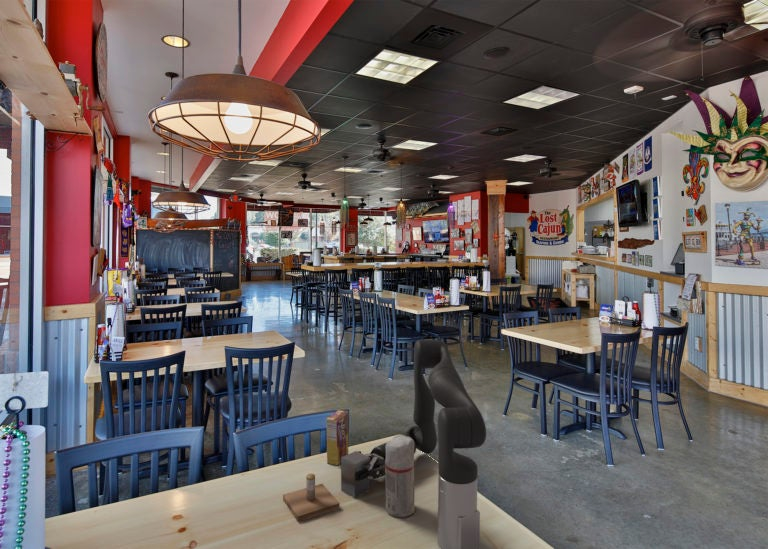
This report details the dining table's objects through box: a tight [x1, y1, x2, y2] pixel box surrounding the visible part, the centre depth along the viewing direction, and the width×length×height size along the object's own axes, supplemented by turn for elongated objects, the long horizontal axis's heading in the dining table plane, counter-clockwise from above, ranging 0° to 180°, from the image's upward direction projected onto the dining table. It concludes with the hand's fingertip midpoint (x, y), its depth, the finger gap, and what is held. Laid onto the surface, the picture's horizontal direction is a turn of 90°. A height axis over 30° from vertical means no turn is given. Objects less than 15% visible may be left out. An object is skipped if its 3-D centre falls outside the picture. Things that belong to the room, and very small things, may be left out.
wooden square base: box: [282, 473, 341, 523], centre depth 122 cm, size 12×12×8 cm
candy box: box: [325, 410, 350, 466], centre depth 150 cm, size 9×4×15 cm, turn 160°
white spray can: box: [384, 434, 416, 518], centre depth 120 cm, size 8×8×20 cm
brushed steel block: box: [340, 450, 371, 499], centre depth 130 cm, size 6×6×10 cm
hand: (349, 473), depth 128 cm, fingers closed on brushed steel block, 6 cm apart
